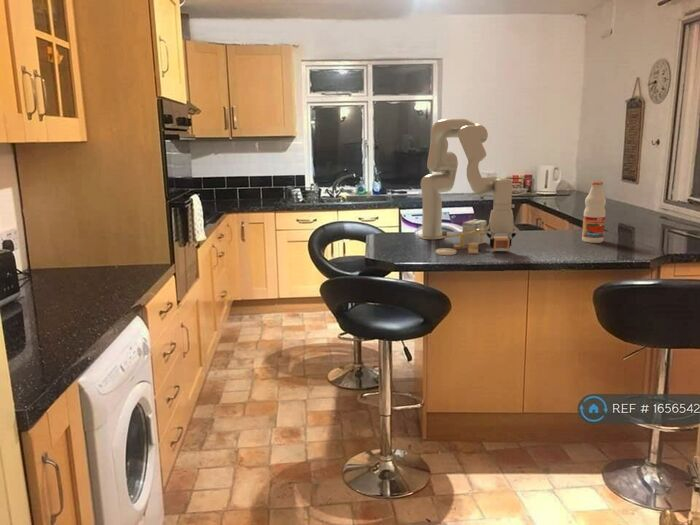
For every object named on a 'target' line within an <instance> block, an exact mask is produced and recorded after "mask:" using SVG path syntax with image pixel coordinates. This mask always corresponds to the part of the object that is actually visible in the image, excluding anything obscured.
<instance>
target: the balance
mask: <svg viewBox="0 0 700 525" xmlns="http://www.w3.org/2000/svg"><path fill="white" fill-rule="evenodd" d="M483 230H484V229H481V228H477V229H475V231H471V232H466V233H463V232H461V233H454V234H448V231H447V230H443V231H442V230H441V234H442V235H440V237H444V238H443V239H449V238H453V237H459V244H452V245H453V246H452V247H453V249H455V250H466V249H467V250H468V245H464V244H463V237H464V235H466V234H472V233H477V232H480V231H483Z"/></svg>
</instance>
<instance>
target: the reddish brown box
mask: <svg viewBox="0 0 700 525" xmlns="http://www.w3.org/2000/svg"><path fill="white" fill-rule="evenodd" d="M493 239H494V248H491V249H492V251H493V252H496V250H497V249H500V250H501V249H505V250H506V251H507V252H510V248H509V242H510V239H509V238H508V235H507V236H505V235H504V236H497V235H496V236H495V235H494V237H493Z"/></svg>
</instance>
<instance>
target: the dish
mask: <svg viewBox="0 0 700 525" xmlns="http://www.w3.org/2000/svg"><path fill="white" fill-rule="evenodd" d="M435 254H436V255H439V256H440V255H441V256H454V255H457V249H454V248H447V247H444V248H443V247H442V248H437V249H435Z"/></svg>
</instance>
